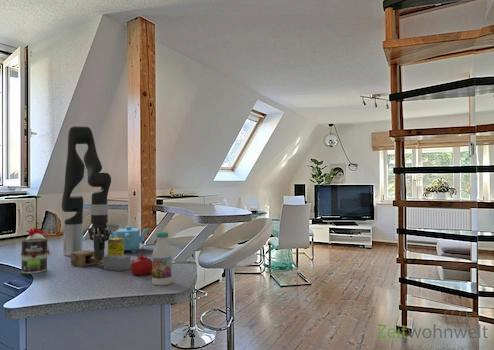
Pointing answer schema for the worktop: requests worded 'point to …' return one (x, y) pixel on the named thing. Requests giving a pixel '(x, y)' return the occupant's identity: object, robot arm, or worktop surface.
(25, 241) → the coffee can
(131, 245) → the teakettle
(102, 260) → the rod
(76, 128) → the robot arm
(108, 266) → the sleeve
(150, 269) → the pomegranate
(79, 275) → the worktop surface
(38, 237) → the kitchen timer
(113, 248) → the supplement box
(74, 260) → the socket block
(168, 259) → the milk bottle
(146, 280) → the worktop surface
